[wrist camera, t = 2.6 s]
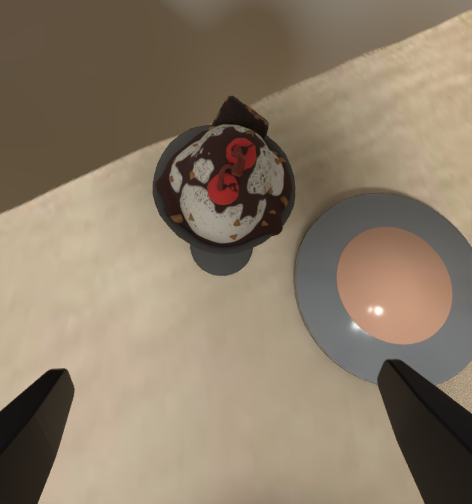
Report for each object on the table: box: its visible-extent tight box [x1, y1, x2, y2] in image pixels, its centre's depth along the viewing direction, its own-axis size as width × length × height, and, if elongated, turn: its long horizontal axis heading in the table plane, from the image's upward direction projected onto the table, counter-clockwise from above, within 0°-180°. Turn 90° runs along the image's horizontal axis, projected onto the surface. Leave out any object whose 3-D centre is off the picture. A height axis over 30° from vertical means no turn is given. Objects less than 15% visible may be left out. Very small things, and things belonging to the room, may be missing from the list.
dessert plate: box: [294, 193, 472, 385], centre depth 23 cm, size 15×15×1 cm
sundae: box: [153, 96, 295, 276], centre depth 16 cm, size 7×7×15 cm
